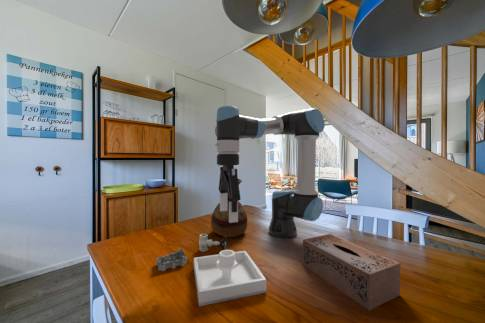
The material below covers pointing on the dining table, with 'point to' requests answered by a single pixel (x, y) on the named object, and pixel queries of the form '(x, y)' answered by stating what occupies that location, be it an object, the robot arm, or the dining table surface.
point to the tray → (219, 289)
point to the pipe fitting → (226, 263)
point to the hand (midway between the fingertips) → (228, 215)
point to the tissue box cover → (353, 269)
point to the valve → (210, 242)
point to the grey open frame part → (172, 264)
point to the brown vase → (222, 220)
